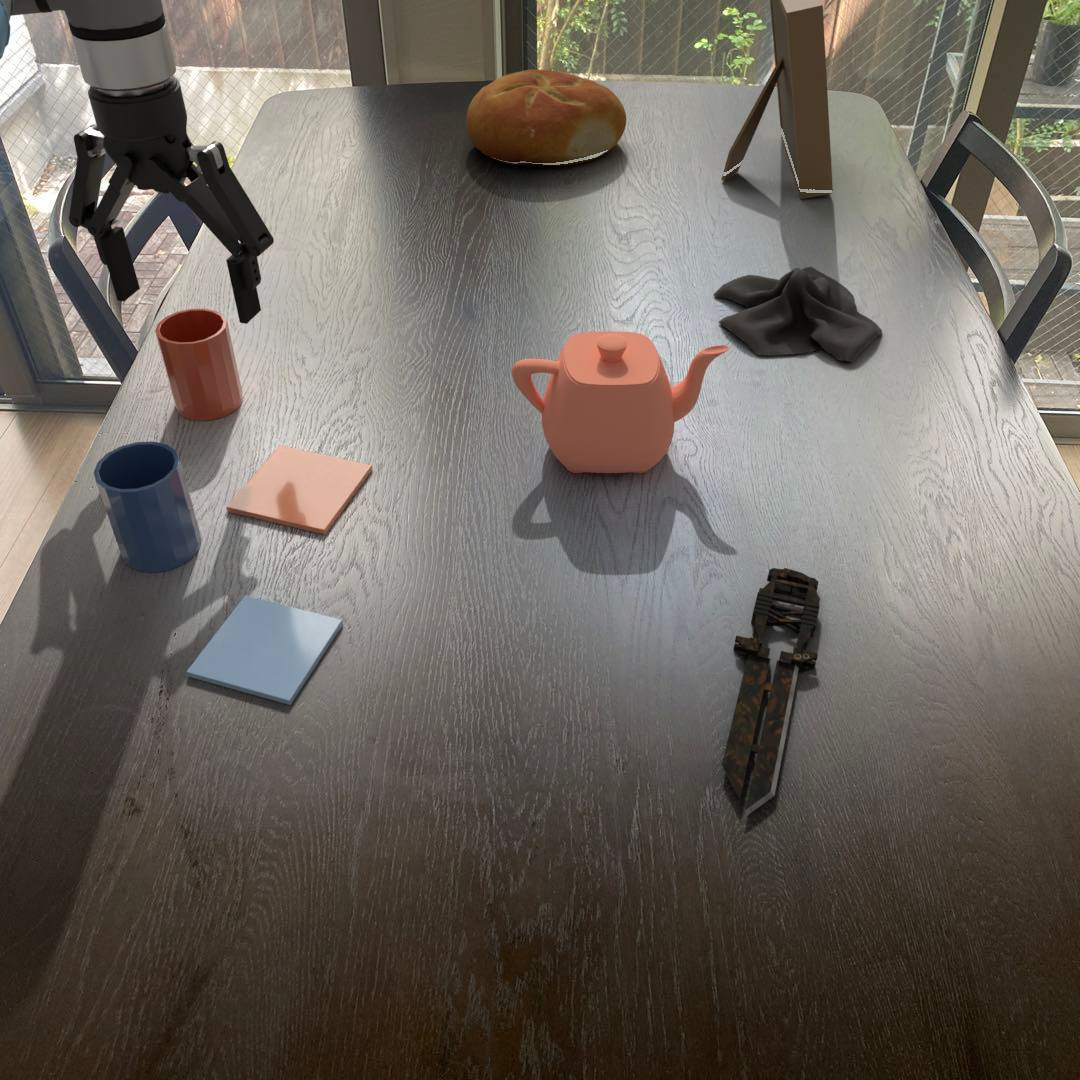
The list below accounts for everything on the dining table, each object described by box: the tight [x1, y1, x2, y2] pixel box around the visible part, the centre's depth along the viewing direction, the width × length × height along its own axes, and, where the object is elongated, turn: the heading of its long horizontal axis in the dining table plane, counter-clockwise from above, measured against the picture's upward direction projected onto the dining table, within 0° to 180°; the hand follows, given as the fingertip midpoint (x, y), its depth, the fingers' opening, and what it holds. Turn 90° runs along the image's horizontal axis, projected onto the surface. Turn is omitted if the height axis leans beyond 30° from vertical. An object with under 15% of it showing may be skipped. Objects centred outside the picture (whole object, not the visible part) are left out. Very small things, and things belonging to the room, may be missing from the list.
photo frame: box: [720, 0, 834, 200], centre depth 149 cm, size 15×22×25 cm
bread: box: [465, 69, 627, 167], centre depth 160 cm, size 23×23×10 cm
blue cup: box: [93, 440, 202, 573], centre depth 93 cm, size 7×7×9 cm
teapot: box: [511, 330, 730, 474], centre depth 103 cm, size 13×20×12 cm, turn 90°
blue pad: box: [186, 594, 344, 706], centre depth 86 cm, size 9×9×1 cm
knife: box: [721, 567, 821, 819], centre depth 83 cm, size 25×6×1 cm, turn 157°
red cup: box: [154, 308, 244, 422], centre depth 109 cm, size 7×7×9 cm
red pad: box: [226, 444, 374, 536], centre depth 101 cm, size 10×10×1 cm
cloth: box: [712, 266, 883, 363], centre depth 124 cm, size 22×19×6 cm
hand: (188, 305), depth 105 cm, fingers open, 13 cm apart
